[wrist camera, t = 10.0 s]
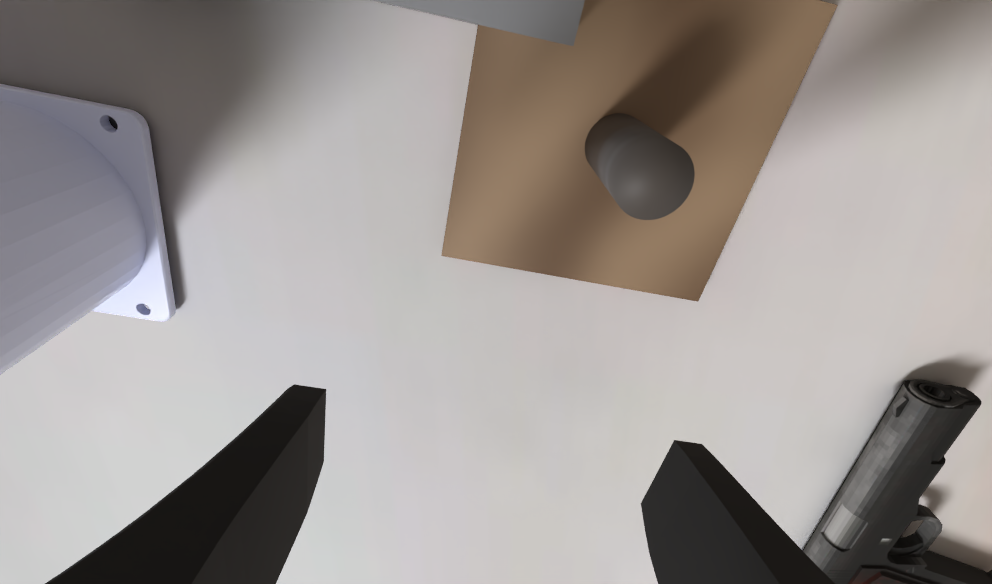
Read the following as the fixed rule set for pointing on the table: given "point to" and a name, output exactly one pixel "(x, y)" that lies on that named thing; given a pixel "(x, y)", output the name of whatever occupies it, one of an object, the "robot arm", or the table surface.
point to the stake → (625, 138)
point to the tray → (509, 15)
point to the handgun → (896, 496)
